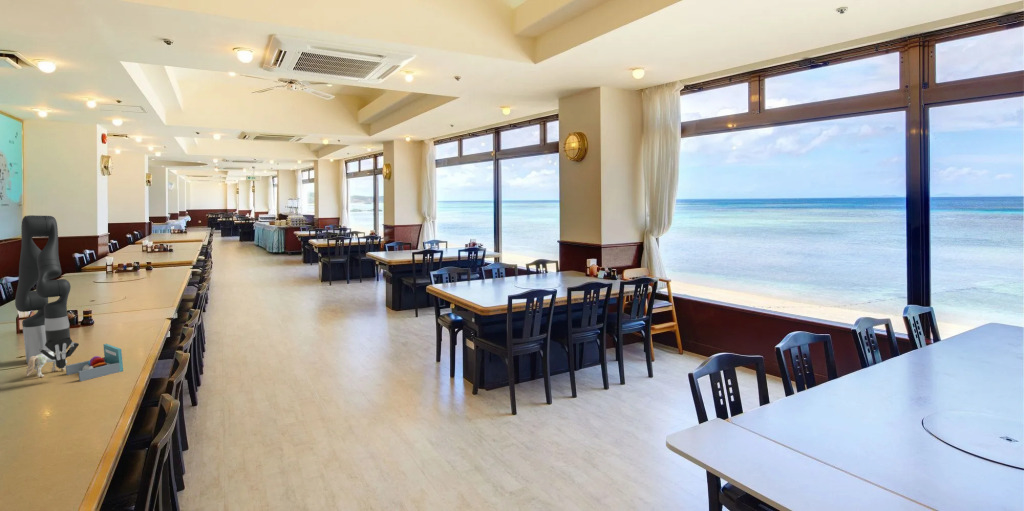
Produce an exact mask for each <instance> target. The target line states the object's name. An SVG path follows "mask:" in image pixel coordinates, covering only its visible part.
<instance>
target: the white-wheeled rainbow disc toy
mask: <svg viewBox="0 0 1024 511" xmlns="http://www.w3.org/2000/svg"><path fill="white" fill-rule="evenodd" d="M88 361H89V362H88V365H85V366H84V367H83V370H87V369H92V368H96V367H101V366H105V365H109V363H106V362H104V361H105V360H104V359H103V357H101V356H99V355H95V356H93V357H92V358H90V360H88Z"/></svg>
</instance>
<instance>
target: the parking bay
mask: <svg viewBox="0 0 1024 511" xmlns="http://www.w3.org/2000/svg"><path fill="white" fill-rule="evenodd" d="M122 351H123V350H122V348H120V347H118V346H114V345H111V344H108V343H103V353H104V354H103V356H104V357H102V358H103V359H104V360H105V361H104V362H106V363H109V365H105V366H101V367H96V368H92V369H87V370H83V367H84V366H85V365H88V362H89V360H84V361H81V362H76V363H71V364H66V368H65V373H66V375H67V376H69V375H74V374H78V379H79V380H78V381H79V382H83V381H88V380H92V379H96V378H100V377H101V378H102V377H104V376H109V375H112V374H116V373H120V372H124V363H123V354H122Z"/></svg>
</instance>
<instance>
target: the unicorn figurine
mask: <svg viewBox="0 0 1024 511" xmlns="http://www.w3.org/2000/svg"><path fill="white" fill-rule="evenodd" d="M48 353H49V354H50V355H52V356H54V354H53V352H52V351H49V352H48ZM46 363H52V367H51V372H58V368H57V367H56V360H51V359H49V358H48V357H47V356H45V355H44V354H39V355H37V356H32V357H30V358H29V362H28V363H27V367H26V371H25V374H26V377H28V376H30V375H31V374H32V373H33V372H34V370H36V374H37V377H38V378H45V377H46V375H44V374H43V373H42V368H43V367H44V366H45V364H46ZM67 363H68V360H66V365H68V364H67ZM60 371H61V372H64V371H66V366H64V368H61V369H60Z"/></svg>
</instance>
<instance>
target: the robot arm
mask: <svg viewBox="0 0 1024 511" xmlns="http://www.w3.org/2000/svg"><path fill="white" fill-rule="evenodd" d="M33 238H47V239H48V240H47V242H46V244H45V246H44V247H43V249H42V250H41V249H40V248H39V247H38V246H37V245H36V243H35V242H34V240H33ZM18 266H19V267H18V281H17V282H18V283H17V289H16V292H15V299H14V306H15V309H16V310H17V311H18V312H20V313H24V312H25V313H26V312H34V311H35V312H36V311H37V312H36V313H35V314H33V315H31V316H29V317H27V318H24V319H23V320H22V321H21V323H22V324H21V325H22V333H23V334H22V335H23V341H24V343H23V344H24V352H25V360H26V361H25V362H26V364H28V362H29V358H30V357H32V356H37V355H39V354H44V355H45V356H47V357H48V358H49V359H51V360H56V364H55V368H57V369H60V370H61V368H64V366H66V365H67V364H66V361H67V358H68V357H71V356H72V354H73V353H74V352H75V350H76V349H77V348H78V347H79V343H77V342H74V341H73V340H72V339H71V329H70V321H69V316H68V309H67V308H68V306H67V305H68V299H69V298H68V297H69V296H70V292H71V283H70V282H69V280H67V279H66V278H65V279H64V278H59V279H56V278H58V277H60V276H61V275H62V267H61V263H60V256H59V230H58V221H57V220H56V217H54V216H53V215H24V216H23V218H22V219H21V250H20V258H19V264H18ZM35 285H36V286H35ZM34 286H35V288H36V289H35V290H31V289H32V288H33V287H34ZM56 297H58V299H57V300H55V301H51V302H49V298H56ZM49 351H52V352H53V354H54V356H52V355H50V354H49V353H48V352H49Z"/></svg>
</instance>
